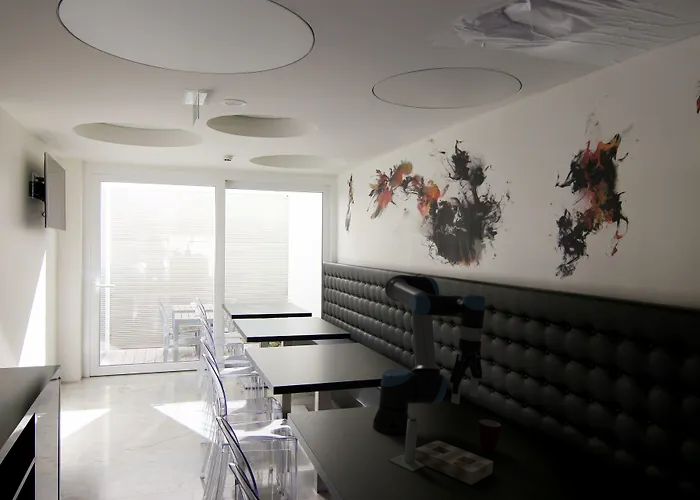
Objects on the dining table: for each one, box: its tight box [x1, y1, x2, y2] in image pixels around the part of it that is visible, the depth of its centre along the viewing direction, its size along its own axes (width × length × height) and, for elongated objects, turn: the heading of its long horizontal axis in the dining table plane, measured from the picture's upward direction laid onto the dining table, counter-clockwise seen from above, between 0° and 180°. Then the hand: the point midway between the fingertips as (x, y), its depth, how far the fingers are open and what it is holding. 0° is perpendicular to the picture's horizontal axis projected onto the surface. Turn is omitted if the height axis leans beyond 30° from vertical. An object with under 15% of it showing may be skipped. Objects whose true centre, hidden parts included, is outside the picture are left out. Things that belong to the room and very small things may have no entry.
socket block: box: [415, 439, 494, 486], centre depth 170 cm, size 22×14×4 cm, turn 47°
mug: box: [477, 418, 502, 453], centre depth 187 cm, size 10×8×10 cm
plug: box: [403, 416, 419, 464], centre depth 170 cm, size 4×4×15 cm
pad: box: [387, 453, 427, 473], centre depth 170 cm, size 10×10×1 cm
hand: (464, 399), depth 174 cm, fingers open, 13 cm apart
